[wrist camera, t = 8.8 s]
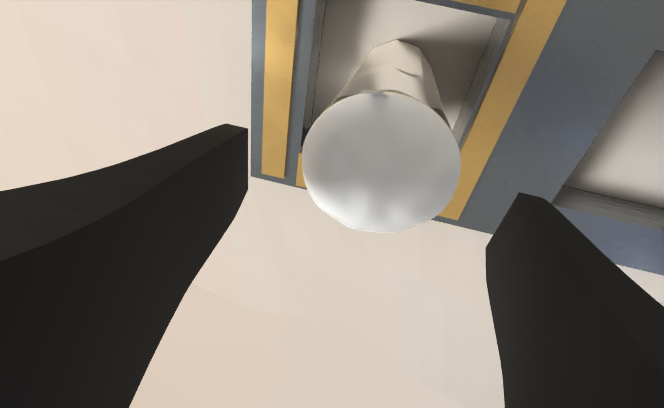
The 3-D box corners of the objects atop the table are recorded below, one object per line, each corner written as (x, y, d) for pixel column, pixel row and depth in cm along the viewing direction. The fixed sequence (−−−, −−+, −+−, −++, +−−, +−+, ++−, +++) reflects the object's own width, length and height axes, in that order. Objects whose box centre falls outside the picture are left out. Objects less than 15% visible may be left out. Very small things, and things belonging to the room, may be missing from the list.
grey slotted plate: (974, 15, 12) (1065, 31, 10) (693, 259, 20) (719, 291, 18) (272, -119, 13) (250, -125, 12) (263, 157, 21) (249, 178, 19)
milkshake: (456, 0, 15) (494, 94, 7) (439, 124, 18) (451, 283, 10) (343, 2, 15) (263, 88, 8) (346, 121, 19) (292, 265, 11)
